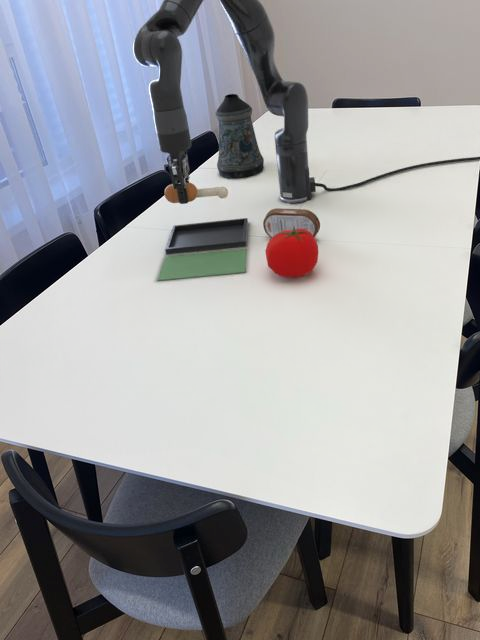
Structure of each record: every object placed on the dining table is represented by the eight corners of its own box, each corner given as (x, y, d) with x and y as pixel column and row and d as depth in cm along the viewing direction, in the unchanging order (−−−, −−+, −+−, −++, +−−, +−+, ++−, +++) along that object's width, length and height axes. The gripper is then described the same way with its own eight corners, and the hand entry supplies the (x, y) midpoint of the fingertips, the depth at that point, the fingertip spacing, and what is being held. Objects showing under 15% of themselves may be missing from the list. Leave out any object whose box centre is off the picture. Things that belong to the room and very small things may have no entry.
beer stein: (238, 182, 194) (227, 104, 180) (204, 172, 207) (191, 99, 193) (274, 168, 202) (266, 92, 188) (239, 159, 215) (229, 87, 201)
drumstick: (229, 194, 144) (227, 176, 141) (228, 200, 140) (225, 182, 138) (168, 200, 145) (164, 182, 142) (165, 206, 141) (161, 188, 139)
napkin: (247, 249, 151) (247, 248, 151) (245, 272, 141) (245, 271, 141) (165, 257, 153) (164, 256, 153) (157, 281, 142) (157, 280, 142)
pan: (248, 223, 165) (247, 217, 164) (246, 247, 152) (245, 241, 151) (174, 231, 167) (173, 225, 166) (166, 255, 154) (165, 249, 153)
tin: (321, 238, 152) (319, 208, 147) (318, 243, 149) (316, 213, 145) (267, 236, 157) (264, 206, 152) (263, 241, 154) (260, 211, 149)
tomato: (304, 289, 131) (300, 246, 125) (258, 280, 137) (253, 239, 131) (330, 263, 140) (328, 222, 134) (286, 256, 146) (282, 216, 140)
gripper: (184, 134, 127) (197, 208, 136) (191, 118, 138) (203, 187, 148) (150, 138, 127) (166, 211, 137) (161, 122, 139) (174, 190, 149)
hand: (185, 199), depth 142 cm, fingers closed on drumstick, 4 cm apart
